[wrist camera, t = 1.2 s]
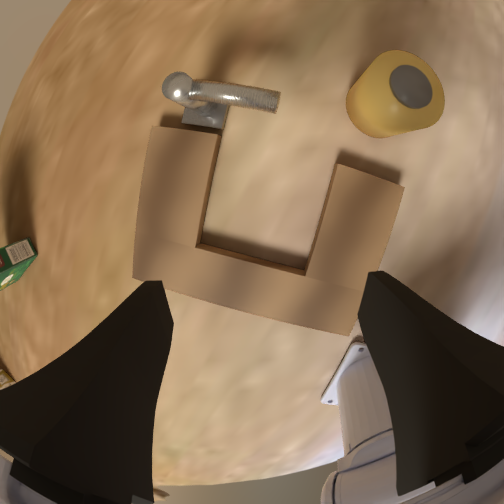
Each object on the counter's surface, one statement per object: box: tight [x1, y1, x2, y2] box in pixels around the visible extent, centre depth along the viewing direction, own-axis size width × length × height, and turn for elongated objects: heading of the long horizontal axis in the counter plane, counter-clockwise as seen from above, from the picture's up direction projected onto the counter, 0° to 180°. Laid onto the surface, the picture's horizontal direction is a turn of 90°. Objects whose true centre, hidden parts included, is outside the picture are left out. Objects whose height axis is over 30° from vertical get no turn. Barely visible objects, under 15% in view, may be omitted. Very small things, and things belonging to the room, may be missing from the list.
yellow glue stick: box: [346, 50, 445, 138], centre depth 13 cm, size 4×4×6 cm
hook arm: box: [162, 72, 281, 130], centre depth 14 cm, size 7×3×6 cm, turn 77°
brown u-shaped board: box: [132, 126, 405, 336], centre depth 19 cm, size 18×12×1 cm, turn 77°
